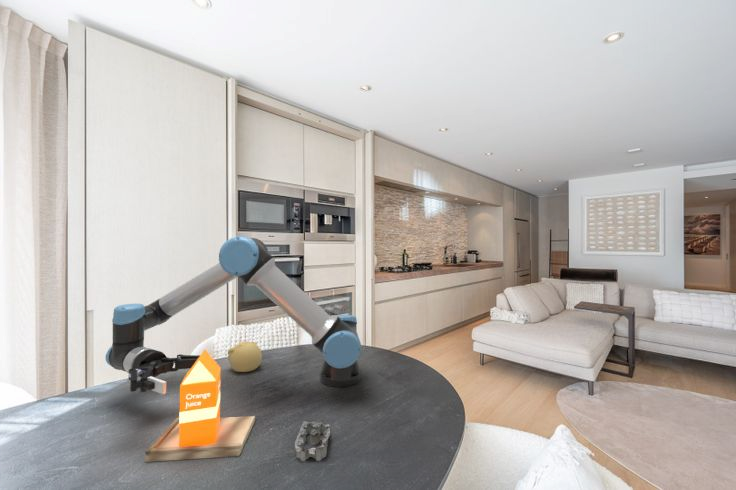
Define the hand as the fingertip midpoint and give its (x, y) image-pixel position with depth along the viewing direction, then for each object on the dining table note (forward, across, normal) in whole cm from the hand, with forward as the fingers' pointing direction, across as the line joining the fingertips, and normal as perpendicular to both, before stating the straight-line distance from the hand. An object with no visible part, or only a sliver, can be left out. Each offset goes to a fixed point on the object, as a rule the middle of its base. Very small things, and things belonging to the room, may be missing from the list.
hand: (192, 377), depth 78 cm
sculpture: (-22, -36, -15) cm, 45 cm away
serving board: (+5, 0, -14) cm, 15 cm away
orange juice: (+5, +1, -13) cm, 14 cm away
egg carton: (+30, -10, -15) cm, 35 cm away
